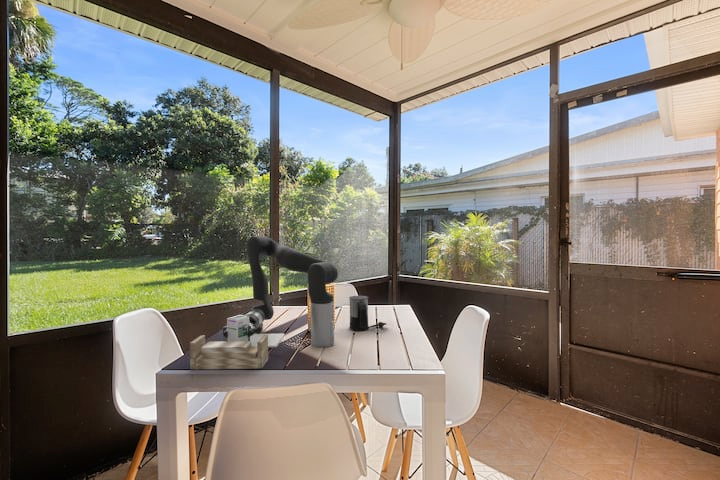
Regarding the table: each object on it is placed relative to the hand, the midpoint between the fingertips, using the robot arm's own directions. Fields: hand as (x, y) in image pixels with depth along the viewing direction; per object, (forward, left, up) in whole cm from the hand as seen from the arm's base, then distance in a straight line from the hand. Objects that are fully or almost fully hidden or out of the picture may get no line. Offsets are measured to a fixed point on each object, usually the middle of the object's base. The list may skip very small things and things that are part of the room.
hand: (237, 334), depth 123 cm
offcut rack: (0, +7, -8) cm, 11 cm away
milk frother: (-49, -34, -9) cm, 60 cm away
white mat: (-4, -17, -8) cm, 20 cm away
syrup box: (0, -2, -8) cm, 9 cm away
